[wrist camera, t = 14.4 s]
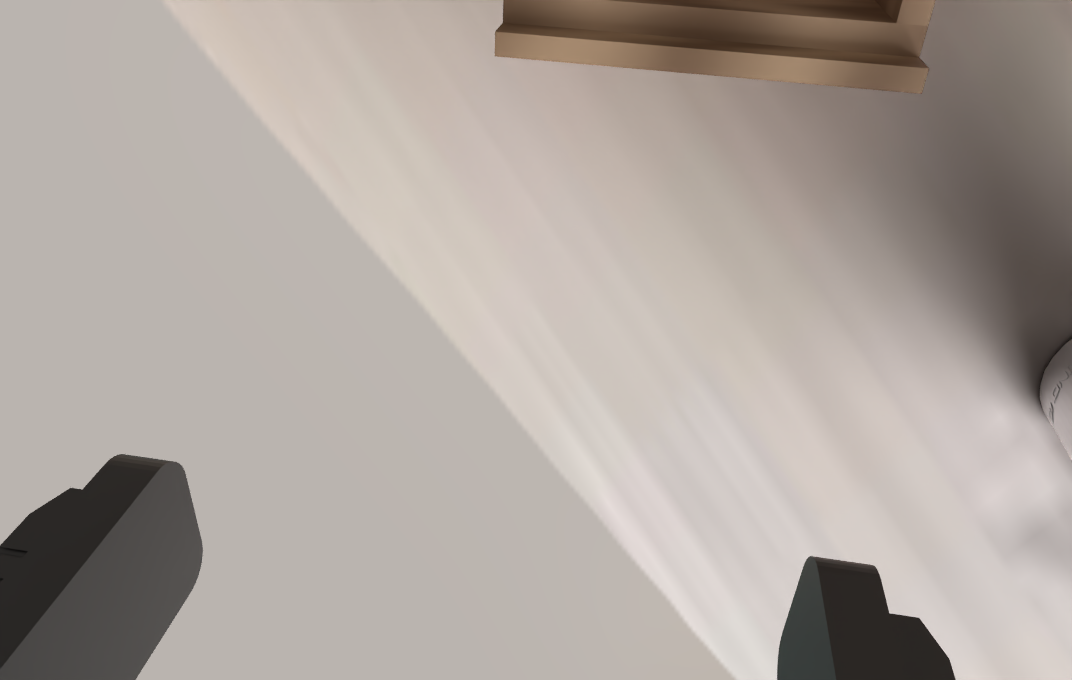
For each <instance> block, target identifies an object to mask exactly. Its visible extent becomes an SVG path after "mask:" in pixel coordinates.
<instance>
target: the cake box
mask: <svg viewBox="0 0 1072 680" xmlns="http://www.w3.org/2000/svg"><path fill="white" fill-rule="evenodd" d="M935 1H936V0H504V4H503V23H502V24H501V26H500V27H499V28H498V29H497V30H496V31H495V56H498V57H510V58H521V59H532V60H544V61H555V62H567V63H578V64H589V65H601V66H612V67H623V68H635V69H646V70H657V71H669V72H680V73H691V74H703V75H714V76H726V77H737V78H748V79H760V80H771V81H782V82H794V83H805V84H816V85H828V86H839V87H850V88H862V89H873V90H885V91H896V92H907V93H919V94H922V91H923V88H924V84H925V81H926V77H927V74H928V71H929V68H928V67H927V66H926V65H925V63H924V62H923V61H922V60H921V59H920V58H919V56H920V53H921V49H922V46H923V42H924V39H925V35H926V32H927V28H928V25H929V21H930V18H931V14H932V11H933V8H934V4H935Z"/></svg>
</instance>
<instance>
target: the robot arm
mask: <svg viewBox="0 0 1072 680" xmlns="http://www.w3.org/2000/svg"><path fill="white" fill-rule="evenodd" d="M1040 401H1041V405H1042V408H1043V411H1044V413H1045V415H1046V417H1047V418H1048V420H1049V422H1050V424H1051V425H1052V427H1053V429H1054V430H1055V432H1056V434H1057V436H1058V437H1059V439H1060V441H1061V443H1062V444H1063V446H1064V448H1065V450H1066V451H1067V453H1068V455H1069V457H1070V459H1071V461H1072V339H1071V340H1070V341H1069V342H1067V343H1066V344H1065V345H1064V346H1063V347H1062V348H1061V349H1060V350H1059V351H1058V352H1057V353H1056V354H1055V356H1054V357H1053V358H1052V360H1051V361H1050V363H1049V365H1048V366H1047V368H1046V370H1045V371H1044V375H1043V378H1042V381H1041V384H1040ZM202 552H203V548H202V540H201V536H200V532H199V528H198V524H197V520H196V516H195V512H194V507H193V503H192V499H191V495H190V491H189V486H188V482H187V478H186V474H185V471H184V470H183V467H182V466H181V465H180V464H179V463H177V462H173V461H166V460H158V459H152V458H145V457H138V456H131V455H125V454H120V455H117V456H114V457H113V458H111V459H110V460H109V461H108V462H107V463H106V464H105V465H104V466H103V467H102V468H101V469H100V471H99V472H98V473H97V474H96V475H95V476H94V477H93V478H92V480H91V481H90V482H89V483H88V484H87V485H86V486H85V487H84V489H83V490H81V489H74V488H70V489H68V490H67V491H65V492H64V493H62V494H60V495H59V496H57V497H56V498H54V499H52V500H51V501H49V502H48V503H46V504H45V505H43V506H42V507H40V508H38V509H37V510H35V511H34V512H32V513H30V514H29V515H28V516H27V517H26V518H25V519H24V521H23V522H22V523H21V524H20V525H19V526H18V527H17V528H16V529H15V530H14V531H13V532H12V533H11V535H10V536H9V537H8V538H7V539H6V540H5V541H4V542H3V543H2V544H1V545H0V680H135V679H136V678H137V676H138V675H139V673H140V672H141V670H142V668H143V667H144V665H145V664H146V662H147V661H148V659H149V657H150V656H151V654H152V653H153V651H154V649H155V648H156V646H157V645H158V643H159V642H160V640H161V638H162V637H163V635H164V634H165V632H166V630H167V629H168V627H169V625H170V624H171V623H172V621H173V619H174V618H175V616H176V615H177V613H178V612H179V610H180V608H181V607H182V605H183V604H184V602H185V600H186V599H187V597H188V595H189V594H190V592H191V591H192V589H193V587H194V585H195V583H196V580H197V578H198V575H199V571H200V567H201V563H202ZM777 680H955V676H954V673H953V670H952V666H951V663H950V660H949V658H948V657H947V655H946V654H945V653H944V651H943V650H942V648H941V647H940V646H939V644H938V643H937V642H936V640H935V639H934V638H933V636H932V635H931V634H930V632H929V631H928V629H927V628H926V627H925V625H924V624H923V623H922V621H921V620H920V619H919V618H916V617H909V616H902V615H896V614H889V611H888V607H887V603H886V598H885V594H884V590H883V586H882V582H881V578H880V575H879V573H878V570H877V569H876V567H875V566H873V565H868V564H861V563H854V562H847V561H840V560H833V559H827V558H820V557H813V556H810V557H808V559H807V560H806V562H805V564H804V567H803V570H802V573H801V576H800V579H799V582H798V586H797V589H796V592H795V595H794V598H793V601H792V604H791V608H790V611H789V614H788V617H787V620H786V623H785V626H784V630H783V633H782V636H781V641H780V646H779V654H778V668H777Z"/></svg>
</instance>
